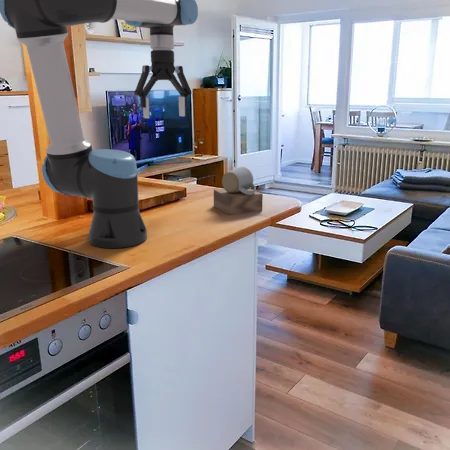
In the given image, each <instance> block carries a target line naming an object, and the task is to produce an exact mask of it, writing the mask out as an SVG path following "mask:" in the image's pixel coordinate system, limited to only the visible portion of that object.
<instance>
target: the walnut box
mask: <svg viewBox="0 0 450 450" xmlns="http://www.w3.org/2000/svg"><path fill="white" fill-rule="evenodd" d="M248 190H249V191H252V190H253V189H252V188H250V189H248ZM213 207H214V208H216V209H218V210H220V211H222V212H224V213H225V214H227V216H230V215H240V214H246V213H247V214H248V213H255V212H262V211H263V193H262V192H260V191H257V190H256V191H255V193H254V194H252V195H248V194H244V193H242V192H241V191H240V192H237V193H229V192H227V191H226V190H225V189H224V188H218V189H216V188H215V189H213Z"/></svg>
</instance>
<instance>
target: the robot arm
mask: <svg viewBox="0 0 450 450" xmlns="http://www.w3.org/2000/svg"><path fill="white" fill-rule="evenodd" d="M0 15H1V17H2V20H4V22H6V24H7V25H8V26H9V27H11V28H12V29H14V30H15V34H16V38H17V40H18V41H19V42H21V43H22V44H23V45H24V46H25V47H26V51H27V54H28V58H29V62H30V63H29V64H30V66H31V70H32V75H33V79H34V82H35V87H36V91H37V95H38V98H39V102H40V107H41V111H42V114H43V118H44V123H45V127H46V131H47V135H48V139H49V145H48V146H47V148H46V149H45V152H46V155H45V157H44V159H43V162H44V163H43V164H42V165H41V174H42V178H43V180H44V182H45V183H46V185H47V186H48V187H49V188H50V190H52V191H54V192H56V193H58V194H63V195H64V196H69V197H70V196H74V197H81V198H85V199H87V198H88V199H92V205H93V215H92V219H91V222H90V227H89V229H88V230H89V231H88V242H89V244H90V245H92V246H94V247H96V248H103V249H121V248H122V249H123V248H129V247H134V246H137V245H140V244H142V243H143V242H145V241H146V240H147V238H148V231H147V228H146V225H145V222H144V220H143V217H142V214H141V212H140V206H139V205H140V204H139V183H138V181H139V180H138V172H139V171H138V167H137V160H136V158H135V156H134V155H133V154H131V153H130V152H127V151H125V150H121V149H120V150H119V149H109V148H99V149H93V146H92V142H90V141H89V140H88V139H87V138H85V137H84V132H83V127H82V123H81V118H80V114H79V108H78V103H77V99H76V95H75V90H74V85H73V82H72V75H71V72H70V67H69V63H68V59H67V58H68V57H67V53H66V49H65V44H64V43H65V42H64V41H65V40H66V38H67V36H68V35H69V31H68V27H72V26H78V25H84V24H92V23H100V24H101V23H103V24H104V23H108V22H110V21H111V20H118V21H124V22H125V23H126V25H129V26H131V27H134V28H143V29H149V38H150V39H149V40H150V41H149V42H150V44H149V45H150V49H151V51H150V62H151V66H149V65H146V64H145V65H142V69H141V75H140V77H139V80H138V83H137V85H136V87H135V91H134V95H135V96H138V97H139V101H140V107H141V108H142V113H143V115H142V116H143V117H142V118H143V119H150V104H149V103H150V100H149V97H147V96H148V94H149V93H150V92H151V90H152V88H153V87H154V86H155V84H156V82H158V81H169V82H170V83H171V85H172V86H173V87H174V88H175V90H176V91H177V93H178V94H179V95H180V96H178V115H179V117H185V116H186V107H187V102H188V101H187V97H189V95H192V90H191V87H190V85H189V83H188V80H187V78H186V76H185V74H184V73H185V72H184V67H183V66H182V65H176V66H175V52H174V49H175V43H174V41H175V39H174V38H175V37H174V26H188V25H193V24H194V23H196V21H197V19H198V16H199V6H198V4H197V1H196V0H0ZM150 73H152V74H151V76H150V78H149V74H150ZM175 73H176V75H175ZM176 76H177V77H176ZM148 78H149V80H148ZM177 78H178V79H177ZM147 80H148V82H147ZM178 80H179V81H178Z"/></svg>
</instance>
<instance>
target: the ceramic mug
mask: <svg viewBox="0 0 450 450" xmlns="http://www.w3.org/2000/svg"><path fill="white" fill-rule="evenodd" d="M221 184H222V188H223V189H225V190H226V191H227V192H229V193H237V192H240V191H241V192H242V193H244V194H248V195H252V194H254V193H255V191H257V189H256V188H257V187H256V185H255V184H254V176H253V173H252V171H250V169H248V168H247V167H246V166H239V167H237V168H235V169H231V170H229V171H227V172H225V173H224V174H223V176H222V179H221ZM248 189H253V190H252V191H249V190H248Z"/></svg>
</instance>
